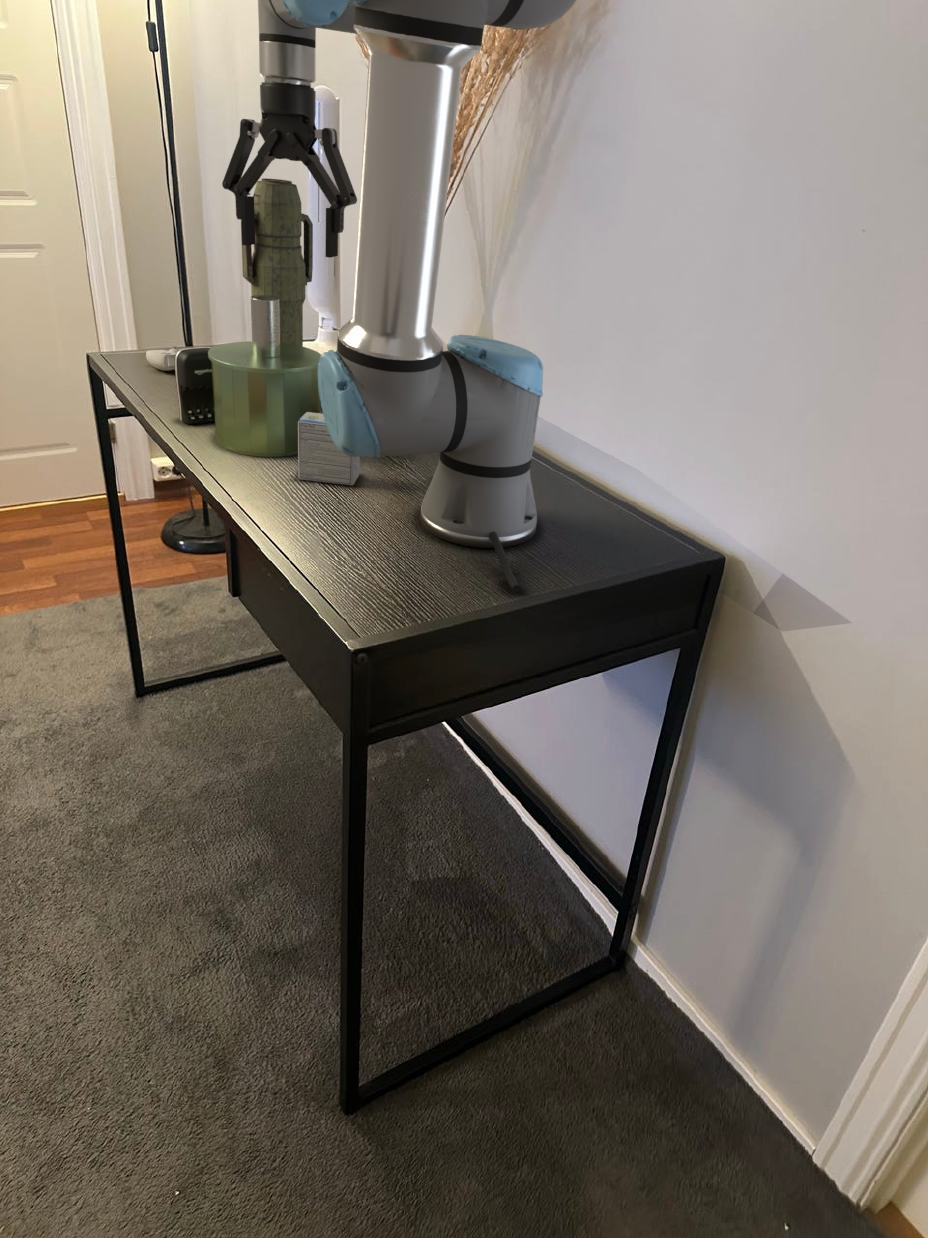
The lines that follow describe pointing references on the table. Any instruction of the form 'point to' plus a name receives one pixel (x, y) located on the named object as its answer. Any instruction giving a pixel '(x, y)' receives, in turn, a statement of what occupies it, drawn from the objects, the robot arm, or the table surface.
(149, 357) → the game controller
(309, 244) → the thermos
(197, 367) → the battery charger
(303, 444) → the medicine box
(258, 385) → the green pot
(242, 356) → the bin lid
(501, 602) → the table surface
